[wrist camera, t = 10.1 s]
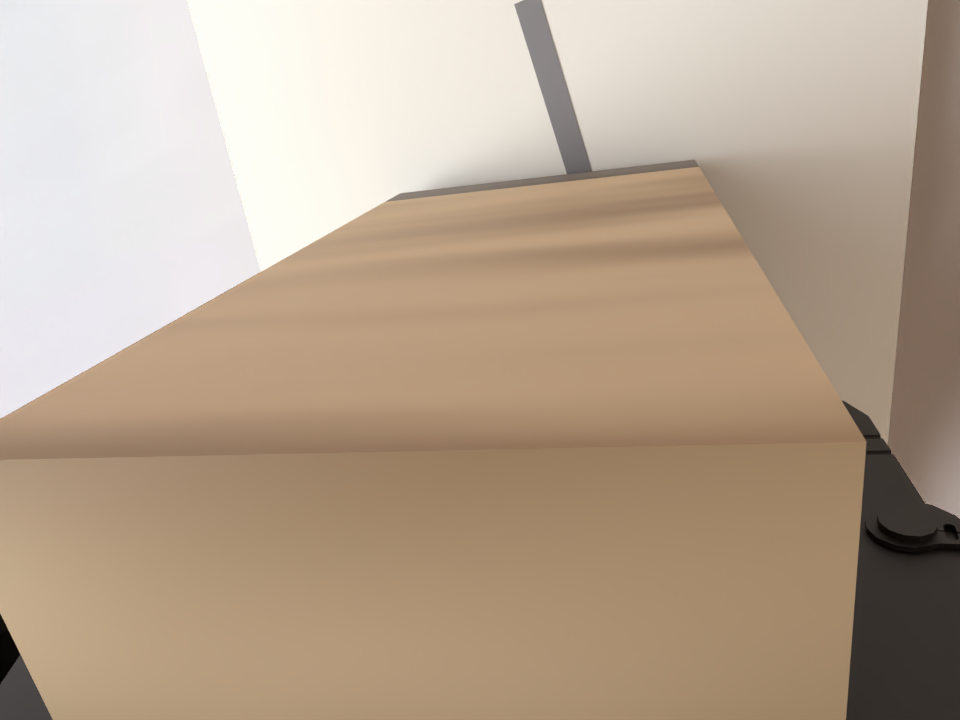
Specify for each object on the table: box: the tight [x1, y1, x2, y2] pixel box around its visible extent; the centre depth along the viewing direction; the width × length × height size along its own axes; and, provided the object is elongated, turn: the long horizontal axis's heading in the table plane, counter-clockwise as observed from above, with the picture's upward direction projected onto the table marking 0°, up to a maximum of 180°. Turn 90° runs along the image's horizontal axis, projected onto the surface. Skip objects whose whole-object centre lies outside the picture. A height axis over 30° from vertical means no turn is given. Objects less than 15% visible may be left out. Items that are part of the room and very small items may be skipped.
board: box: [187, 0, 928, 445], centre depth 16 cm, size 24×14×2 cm, turn 8°
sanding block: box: [0, 160, 866, 720], centre depth 11 cm, size 8×6×11 cm
